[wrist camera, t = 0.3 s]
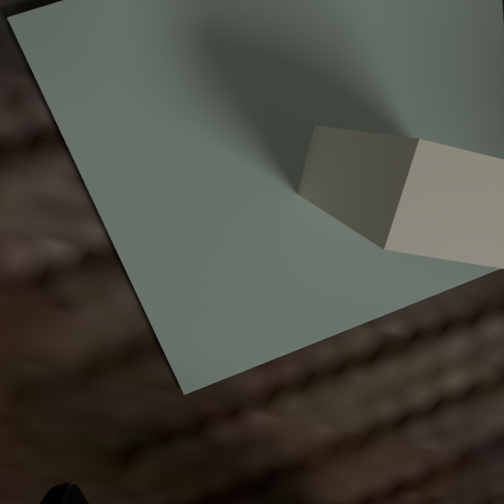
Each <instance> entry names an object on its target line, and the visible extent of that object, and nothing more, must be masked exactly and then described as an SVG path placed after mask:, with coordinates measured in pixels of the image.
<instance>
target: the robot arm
mask: <svg viewBox="0 0 504 504" xmlns="http://www.w3.org/2000/svg"><path fill="white" fill-rule="evenodd" d="M39 504H89V503H88V501H87V500H86V498H85V497H84V495H83V494H82V492H81V490H80V489H79V487H78V486H77V485H76V483H74V482H67V483H64V484H61V485H57V486H54V487H53V488H51V489H50V490H49V491H48V492H47V494H46V495H45V497H44V498H43V499H42V501H41V502H40V503H39Z"/></svg>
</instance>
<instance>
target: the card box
mask: <svg viewBox="0 0 504 504" xmlns="http://www.w3.org/2000/svg"><path fill="white" fill-rule="evenodd" d="M298 195H299V196H301V197H302V198H304V199H305V200H307V201H309V202H310V203H312V204H313V205H315V206H316V207H318V208H320V209H321V210H323V211H324V212H326V213H327V214H329V215H331V216H332V217H334V218H335V219H337V220H338V221H340V222H341V223H343V224H345V225H346V226H348V227H349V228H351V229H352V230H354V231H356V232H357V233H359V234H360V235H362V236H363V237H365V238H367V239H368V240H370V241H371V242H373V243H374V244H376V245H377V246H379V247H381V248H382V249H384V250H389V251H395V252H402V253H408V254H414V255H420V256H427V257H433V258H439V259H445V260H452V261H458V262H464V263H470V264H477V265H483V266H489V267H495V268H502V269H504V159H500V158H496V157H492V156H488V155H484V154H479V153H475V152H471V151H467V150H463V149H459V148H455V147H451V146H447V145H443V144H439V143H435V142H431V141H427V140H423V139H418V138H410V137H402V136H394V135H387V134H379V133H371V132H363V131H356V130H348V129H340V128H332V127H325V126H317V125H315V126H314V130H313V134H312V138H311V142H310V146H309V150H308V154H307V158H306V162H305V166H304V170H303V174H302V178H301V182H300V186H299V190H298Z"/></svg>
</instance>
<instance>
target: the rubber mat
mask: <svg viewBox="0 0 504 504" xmlns="http://www.w3.org/2000/svg"><path fill="white" fill-rule="evenodd" d="M7 19H8V21H9V23H10V25H11V27H12V29H13V31H14V33H15V36H16V38H17V40H18V42H19V44H20V46H21V48H22V50H23V53H24V55H25V57H26V59H27V61H28V63H29V65H30V68H31V70H32V72H33V74H34V76H35V78H36V80H37V82H38V85H39V87H40V89H41V91H42V93H43V95H44V97H45V99H46V102H47V104H48V106H49V108H50V110H51V112H52V114H53V116H54V119H55V121H56V123H57V125H58V127H59V129H60V131H61V134H62V136H63V138H64V140H65V142H66V144H67V146H68V148H69V151H70V153H71V155H72V157H73V159H74V161H75V163H76V165H77V168H78V170H79V172H80V174H81V176H82V178H83V180H84V183H85V185H86V187H87V189H88V191H89V193H90V195H91V197H92V200H93V202H94V204H95V206H96V208H97V210H98V212H99V214H100V217H101V219H102V221H103V223H104V225H105V227H106V229H107V231H108V234H109V236H110V238H111V240H112V242H113V244H114V246H115V249H116V251H117V253H118V255H119V257H120V259H121V261H122V263H123V266H124V268H125V270H126V272H127V274H128V276H129V278H130V280H131V283H132V285H133V287H134V289H135V291H136V293H137V295H138V298H139V300H140V302H141V304H142V306H143V308H144V310H145V312H146V315H147V317H148V319H149V321H150V323H151V325H152V327H153V329H154V332H155V334H156V336H157V338H158V340H159V342H160V344H161V347H162V349H163V351H164V353H165V355H166V357H167V359H168V361H169V364H170V366H171V368H172V370H173V372H174V374H175V376H176V378H177V381H178V383H179V385H180V387H181V389H182V391H183V393H184V395H185V394H188V393H190V392H193V391H195V390H198V389H200V388H203V387H205V386H208V385H210V384H213V383H215V382H218V381H220V380H223V379H225V378H228V377H230V376H233V375H235V374H238V373H240V372H243V371H245V370H248V369H250V368H253V367H255V366H258V365H260V364H263V363H265V362H268V361H270V360H273V359H275V358H278V357H280V356H283V355H285V354H288V353H290V352H293V351H295V350H298V349H300V348H303V347H305V346H308V345H310V344H313V343H315V342H318V341H320V340H323V339H325V338H328V337H330V336H333V335H335V334H338V333H340V332H343V331H345V330H348V329H350V328H353V327H355V326H358V325H360V324H363V323H365V322H368V321H370V320H373V319H375V318H378V317H380V316H383V315H385V314H388V313H391V312H393V311H396V310H398V309H401V308H403V307H406V306H408V305H411V304H413V303H416V302H418V301H421V300H423V299H426V298H428V297H431V296H433V295H436V294H438V293H441V292H443V291H446V290H448V289H451V288H453V287H456V286H458V285H461V284H463V283H466V282H468V281H471V280H473V279H476V278H478V277H481V276H483V275H486V274H488V273H491V272H493V271H496V270H498V269H501V268H495V267H489V266H483V265H477V264H470V263H464V262H458V261H452V260H445V259H439V258H433V257H427V256H420V255H414V254H408V253H402V252H395V251H389V250H384V249H382V248H381V247H379V246H377V245H376V244H374V243H373V242H371V241H370V240H368V239H367V238H365V237H363V236H362V235H360V234H359V233H357V232H356V231H354V230H352V229H351V228H349V227H348V226H346V225H345V224H343V223H341V222H340V221H338V220H337V219H335V218H334V217H332V216H331V215H329V214H327V213H326V212H324V211H323V210H321V209H320V208H318V207H316V206H315V205H313V204H312V203H310V202H309V201H307V200H305V199H304V198H302V197H301V196H299V195H298V190H299V186H300V182H301V178H302V174H303V170H304V166H305V162H306V158H307V154H308V150H309V146H310V142H311V138H312V134H313V130H314V126H315V125H317V126H325V127H332V128H340V129H348V130H356V131H363V132H371V133H379V134H387V135H394V136H402V137H410V138H418V139H423V140H427V141H431V142H435V143H439V144H443V145H447V146H451V147H455V148H459V149H463V150H467V151H471V152H475V153H479V154H484V155H488V156H492V157H496V158H500V159H504V23H503V7H502V0H63V1H60V2H56V3H53V4H50V5H46V6H43V7H40V8H37V9H33V10H30V11H27V12H23V13H20V14H17V15H14V16H10V17H7Z"/></svg>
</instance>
